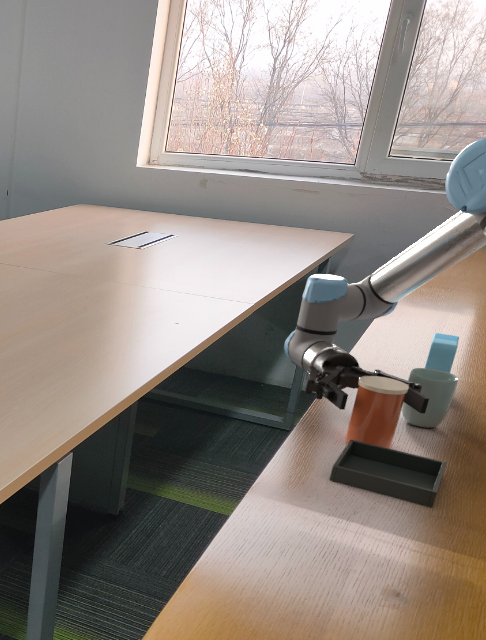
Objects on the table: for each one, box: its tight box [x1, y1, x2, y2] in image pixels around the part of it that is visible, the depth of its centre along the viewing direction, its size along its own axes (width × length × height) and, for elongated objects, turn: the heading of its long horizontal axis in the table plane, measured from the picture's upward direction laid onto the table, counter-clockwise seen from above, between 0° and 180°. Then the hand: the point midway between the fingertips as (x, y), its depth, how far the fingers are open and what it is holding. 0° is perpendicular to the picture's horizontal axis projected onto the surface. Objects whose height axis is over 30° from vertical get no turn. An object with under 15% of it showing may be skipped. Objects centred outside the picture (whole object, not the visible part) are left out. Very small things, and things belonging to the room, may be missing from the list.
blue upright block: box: [424, 332, 460, 373], centre depth 169 cm, size 12×4×12 cm, turn 146°
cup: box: [401, 367, 459, 429], centre depth 152 cm, size 8×8×10 cm
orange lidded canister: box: [344, 376, 409, 449], centre depth 139 cm, size 8×8×12 cm
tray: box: [329, 440, 448, 508], centre depth 128 cm, size 14×14×3 cm
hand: (384, 404), depth 137 cm, fingers open, 13 cm apart
